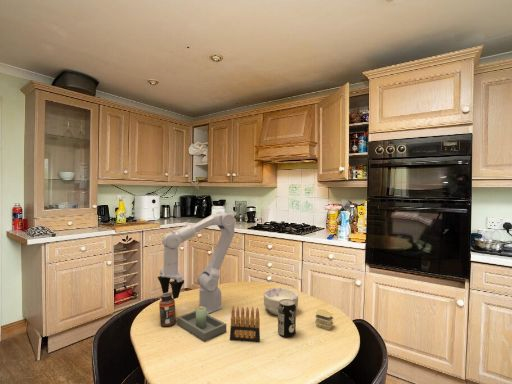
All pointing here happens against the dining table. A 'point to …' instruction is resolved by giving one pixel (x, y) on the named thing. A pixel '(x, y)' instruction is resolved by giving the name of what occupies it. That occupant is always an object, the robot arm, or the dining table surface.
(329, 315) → the layered tan block
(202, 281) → the robot arm
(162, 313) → the supplement bottle
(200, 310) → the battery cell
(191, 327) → the trough
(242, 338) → the ammunition clip
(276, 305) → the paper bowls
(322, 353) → the dining table surface
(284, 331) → the beverage can
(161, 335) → the dining table surface
